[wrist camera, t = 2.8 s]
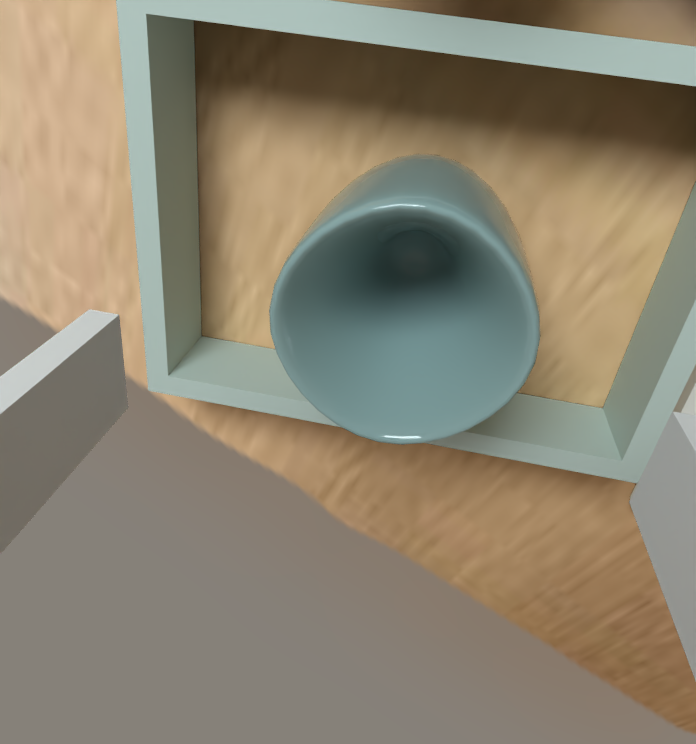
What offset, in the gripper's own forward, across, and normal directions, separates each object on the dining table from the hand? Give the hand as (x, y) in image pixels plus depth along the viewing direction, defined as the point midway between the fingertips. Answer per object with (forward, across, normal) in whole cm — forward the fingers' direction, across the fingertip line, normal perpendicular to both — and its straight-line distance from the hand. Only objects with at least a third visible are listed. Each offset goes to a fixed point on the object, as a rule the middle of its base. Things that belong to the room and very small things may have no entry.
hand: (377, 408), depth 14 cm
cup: (+14, 0, 0) cm, 14 cm away
